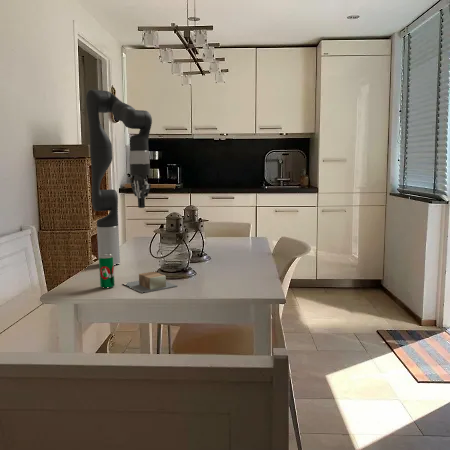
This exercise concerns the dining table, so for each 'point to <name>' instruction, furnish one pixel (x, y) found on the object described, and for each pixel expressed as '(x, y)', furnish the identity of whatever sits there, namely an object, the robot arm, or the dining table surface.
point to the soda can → (106, 270)
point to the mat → (140, 288)
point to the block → (152, 280)
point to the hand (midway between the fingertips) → (141, 207)
